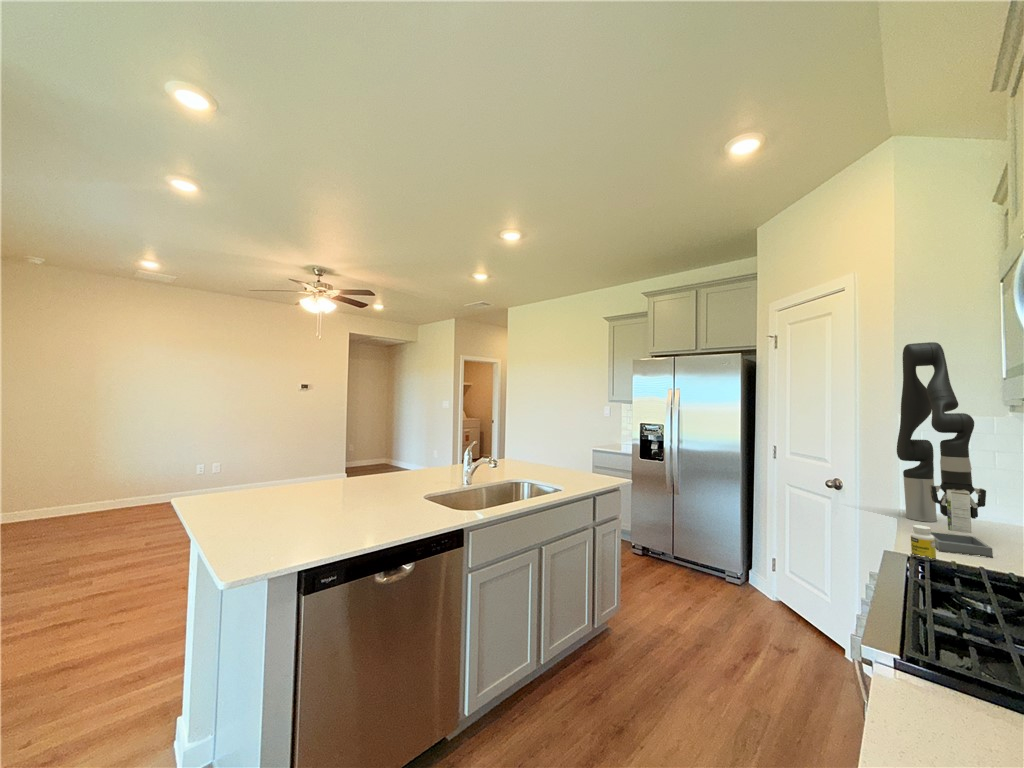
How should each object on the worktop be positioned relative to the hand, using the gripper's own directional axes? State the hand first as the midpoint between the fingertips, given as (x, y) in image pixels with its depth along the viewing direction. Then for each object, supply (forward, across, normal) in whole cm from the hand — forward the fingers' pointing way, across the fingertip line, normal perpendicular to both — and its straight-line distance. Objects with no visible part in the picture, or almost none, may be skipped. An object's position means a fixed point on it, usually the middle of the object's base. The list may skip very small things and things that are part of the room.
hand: (958, 516), depth 148 cm
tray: (+8, +4, +14) cm, 16 cm away
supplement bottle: (+8, +16, +32) cm, 37 cm away
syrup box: (+5, 0, 0) cm, 5 cm away
